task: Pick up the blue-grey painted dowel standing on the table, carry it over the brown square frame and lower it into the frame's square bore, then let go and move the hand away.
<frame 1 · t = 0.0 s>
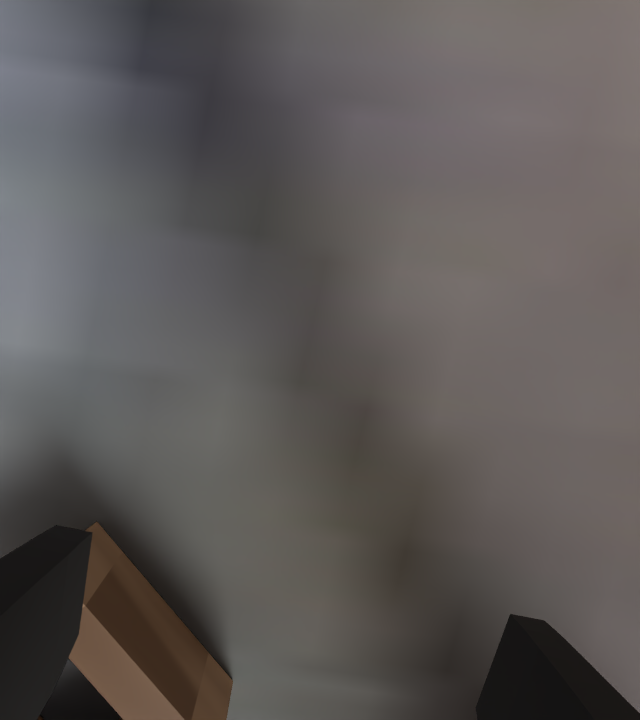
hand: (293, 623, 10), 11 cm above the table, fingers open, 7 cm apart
brown square frame: (82, 665, 21), on the table
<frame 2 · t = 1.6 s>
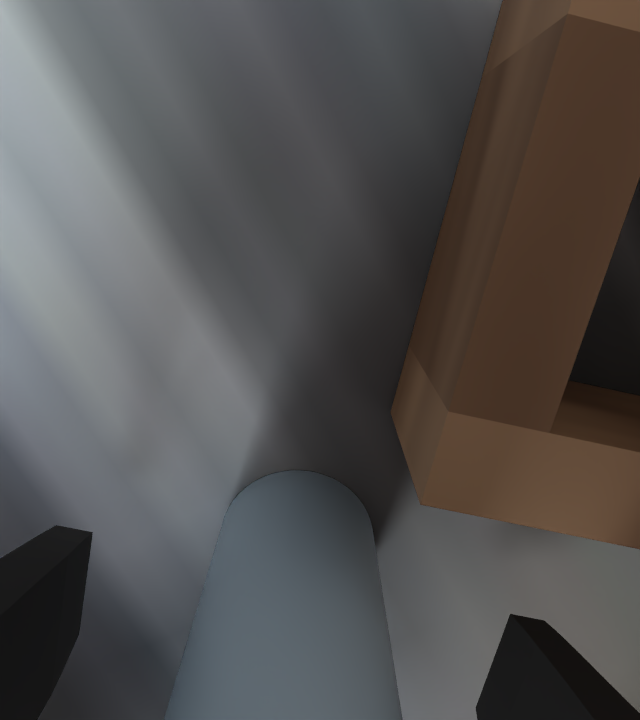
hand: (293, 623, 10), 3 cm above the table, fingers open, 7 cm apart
dowel: (297, 539, 12), on the table
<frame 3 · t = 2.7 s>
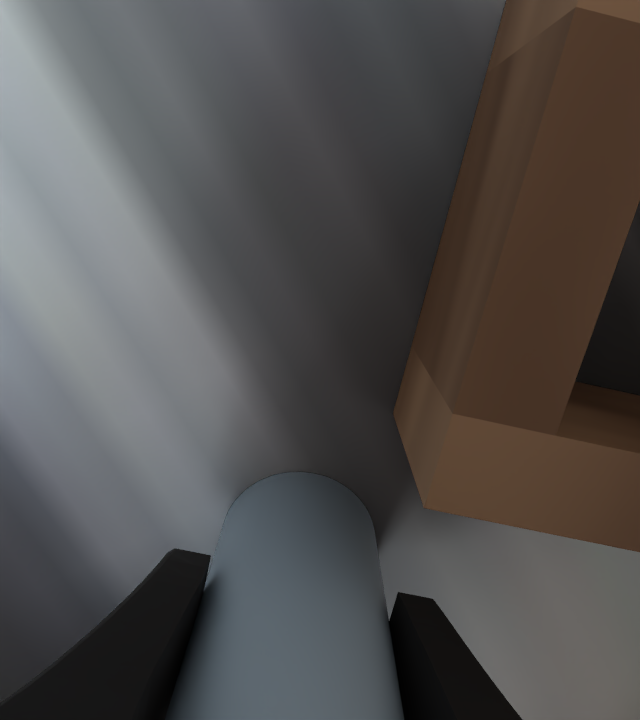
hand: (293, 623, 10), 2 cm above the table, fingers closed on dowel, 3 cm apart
dowel: (298, 541, 12), on the table, touching gripper
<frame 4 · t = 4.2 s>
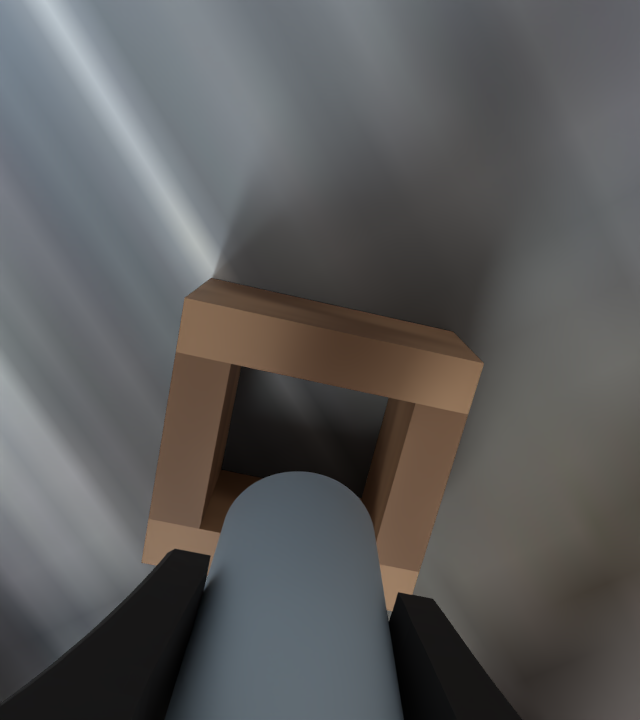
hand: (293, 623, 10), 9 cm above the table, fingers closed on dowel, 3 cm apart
dowel: (298, 541, 12), point 7 cm above the table, touching gripper
brown square frame: (307, 418, 19), on the table
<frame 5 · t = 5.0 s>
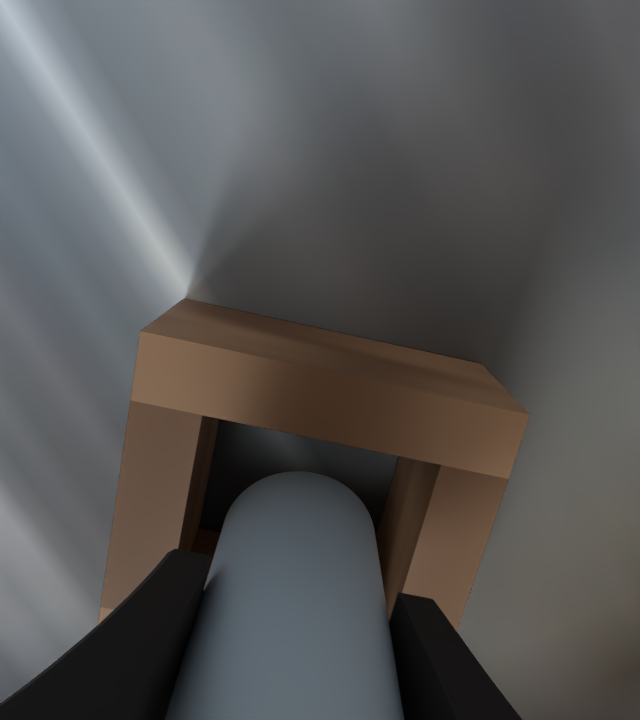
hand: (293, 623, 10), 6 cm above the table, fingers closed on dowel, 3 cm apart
dowel: (298, 541, 12), point 3 cm above the table, touching gripper
brown square frame: (302, 467, 16), on the table
when the fingers open (4 cm above the table, at t = 5.7 s): dowel drops 2 cm, resting in brown square frame.
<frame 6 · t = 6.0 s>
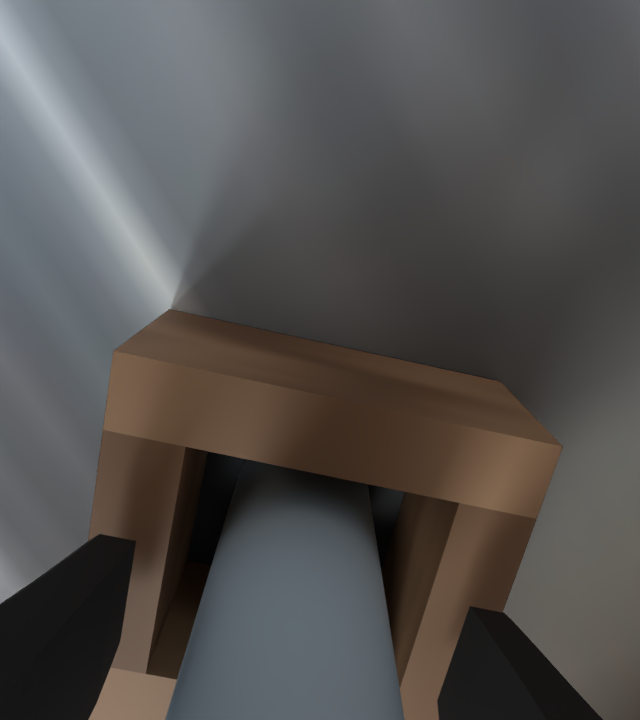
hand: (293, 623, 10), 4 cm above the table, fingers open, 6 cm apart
dowel: (301, 494, 14), resting in brown square frame
brown square frame: (301, 495, 14), on the table
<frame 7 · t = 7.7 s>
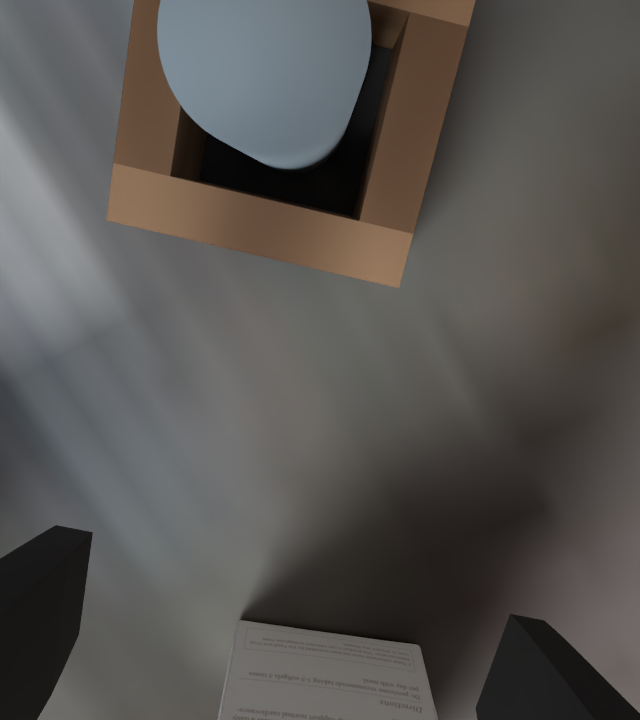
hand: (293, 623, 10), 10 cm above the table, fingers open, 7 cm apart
supplement box: (316, 700, 23), on the table
dowel: (293, 116, 17), resting in brown square frame
brown square frame: (293, 116, 17), on the table
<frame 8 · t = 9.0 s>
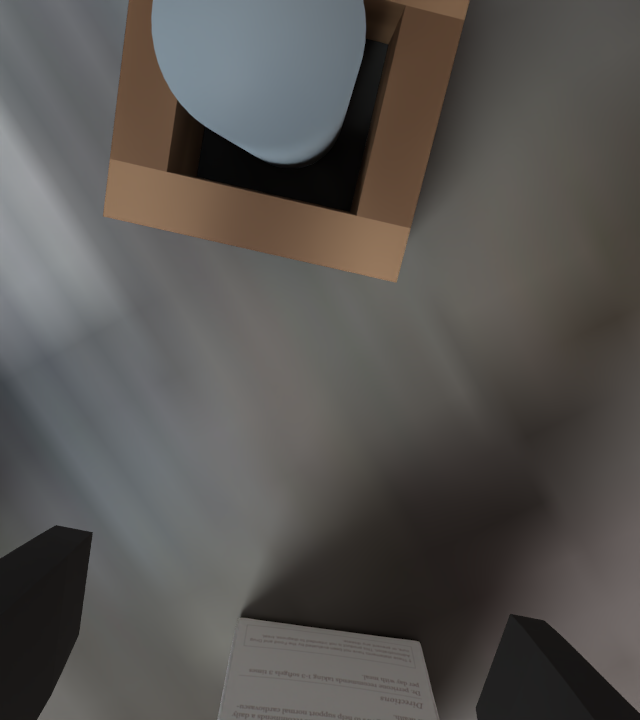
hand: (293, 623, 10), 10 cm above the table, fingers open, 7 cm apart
supplement box: (317, 697, 23), on the table
dowel: (290, 112, 17), resting in brown square frame
brown square frame: (289, 112, 17), on the table
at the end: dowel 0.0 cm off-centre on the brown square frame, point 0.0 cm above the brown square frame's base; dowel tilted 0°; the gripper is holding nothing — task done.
